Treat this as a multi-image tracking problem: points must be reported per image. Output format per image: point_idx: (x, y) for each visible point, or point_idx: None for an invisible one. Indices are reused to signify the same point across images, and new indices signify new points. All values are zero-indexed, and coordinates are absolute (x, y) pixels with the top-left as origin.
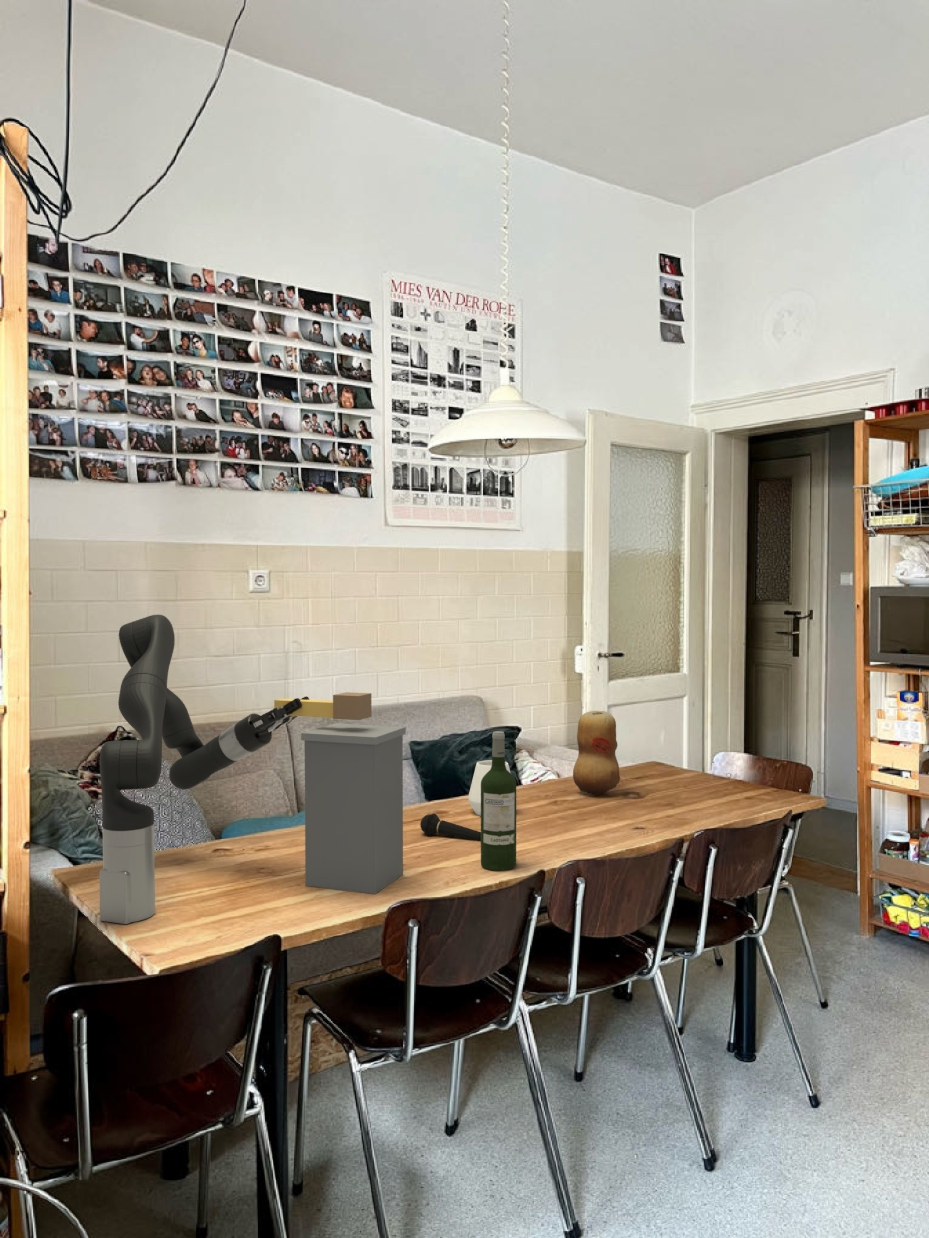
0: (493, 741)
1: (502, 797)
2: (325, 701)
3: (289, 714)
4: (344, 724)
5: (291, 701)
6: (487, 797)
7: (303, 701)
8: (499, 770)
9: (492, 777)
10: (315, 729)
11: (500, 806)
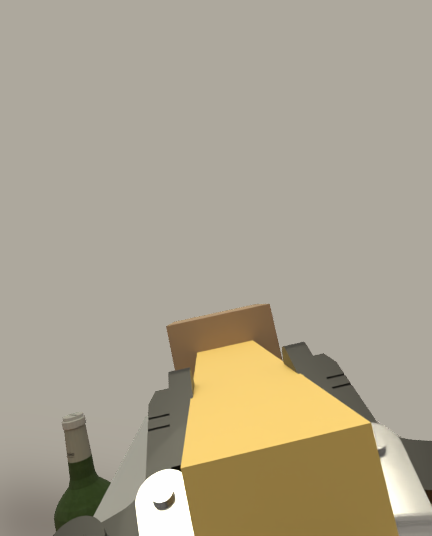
0: (80, 431)
1: None
2: (230, 353)
3: None
4: (117, 501)
5: (320, 370)
6: None
7: (280, 360)
8: (97, 475)
9: (107, 488)
10: None
11: None
